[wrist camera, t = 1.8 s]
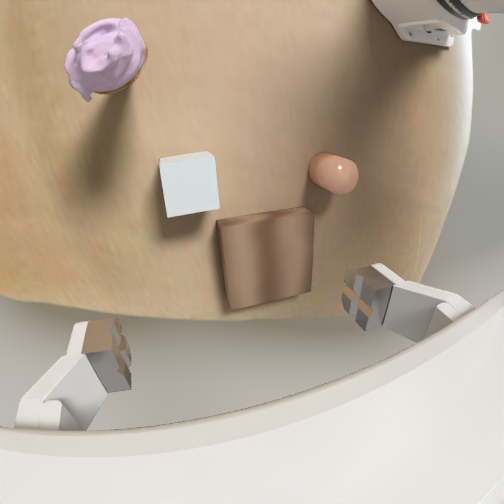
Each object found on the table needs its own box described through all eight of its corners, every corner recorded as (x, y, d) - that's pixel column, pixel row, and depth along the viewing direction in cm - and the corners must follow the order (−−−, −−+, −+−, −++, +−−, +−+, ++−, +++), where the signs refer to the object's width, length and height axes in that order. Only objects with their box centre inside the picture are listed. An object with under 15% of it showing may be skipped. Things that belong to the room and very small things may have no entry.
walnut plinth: (303, 206, 39) (314, 213, 36) (302, 281, 44) (310, 291, 42) (216, 220, 36) (220, 228, 33) (226, 298, 42) (230, 310, 39)
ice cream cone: (127, 116, 27) (97, 112, 14) (86, 90, 24) (32, 73, 11) (162, 68, 26) (162, 29, 13) (121, 43, 23) (94, -7, 10)
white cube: (206, 151, 32) (214, 156, 27) (211, 195, 35) (219, 208, 30) (160, 158, 31) (159, 165, 26) (166, 203, 33) (167, 217, 29)
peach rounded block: (337, 152, 37) (359, 158, 32) (337, 184, 39) (357, 193, 34) (308, 153, 36) (327, 159, 31) (308, 186, 38) (327, 197, 33)
